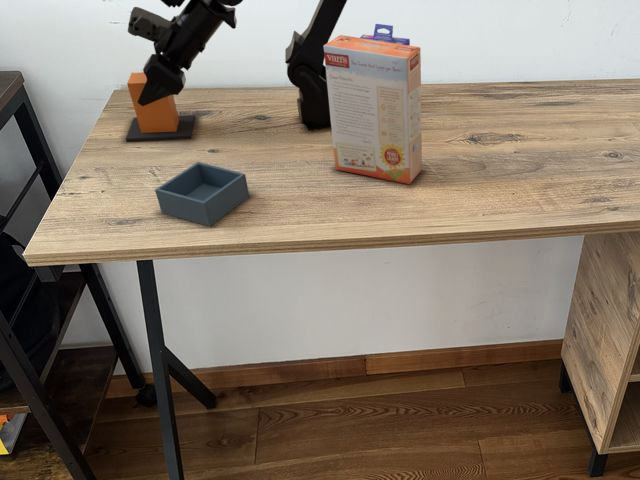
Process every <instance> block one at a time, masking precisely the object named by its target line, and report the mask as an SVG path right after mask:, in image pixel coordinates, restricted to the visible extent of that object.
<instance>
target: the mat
mask: <svg viewBox="0 0 640 480" xmlns="http://www.w3.org/2000/svg"><path fill="white" fill-rule="evenodd" d="M178 117H179V123H178V127H177V131H176V132H155V133H141V129H140V126H139V123H138V119H137V117H133V118H132V121H131V124H130V126H129V129H128V131H127V134H126V136H125V141H126V143H129V142H131V143H132V142H147V141H148V142H149V141H151V142H152V141H153V142H154V141H171V140H172V141H173V140H191V139H192V135H193V131H194V126H195V122H196V115H195V114H193V115H192V114H191V115H189V114H188V115H178Z"/></svg>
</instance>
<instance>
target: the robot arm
mask: <svg viewBox="0 0 640 480" xmlns="http://www.w3.org/2000/svg"><path fill="white" fill-rule="evenodd" d="M185 1H186V0H160V2H161V3H163V4H164V5H166V7H167V8H171V7H172V8H173V9H175V8H176V7H177V8H180V7H182V5H183V4H184V3H185ZM243 1H244V0H189V1H188V2H187V3H186V5H185V6H184V8H183V9H182V10H181V12H180V13H179V14H178V15H176V16H175V15H174V16H173V17H172V18H171V19H170V20H169V19H166V18H164V17H163V16H161V15H159V14H156V13H154V12H151V11H149V10H147V9H145V8H141V7H139V6H134V7H133V8H132V9H131V12H130V16H129V20H128V26H127V33H129V34H130V35H131V36H134V37H140V38H142V39H145V40H146V41H150V42H153V48H154V53H152V54H150V56H149V57H148V59H147V60H146V62H145V64H144V66H143V68H142V71H143V72H144V74H145V75H146V78H147V81H146V83H145V85H144V88H143V90H142V92H141V94H140V97H139V99H138V101H137V102H138V104H140V105H141V106H145V105H147V104H150V103H152V102H155V101H157V100H159V99H162V98H164V97H167V96H170V95H173V96H178V95H179V94H180V93H181V92H182V90H183V89H184V88H185V85H186V82H187V78H186V74H185V71H183V70H182V69H185V70H186V71H189V70H190V68H191V67H192V64H193V62H194V60H195V59H196V58H197V57H198V55H199V54H202V53H203V52H204V51H205V49H206V45H207V44H208V43H209V41H210V40H211V39H212V37H213V36H214V35H215V33H216V32H217V31H218V29H220V27H221V26H222V24H223V23H225V24H226V25H228V26H229V28H231V29H232V30H235V29H236V28H237V23H238V20H237V16H236V11H237V10H236V8H235V7H236V6H238V5H240V4H242V2H243ZM347 2H348V0H319V1H318V4H317V6H316V8H315V11H314V13H313V15H312V17H311V20H310V22H309V24H308V26H307V27H306V29H304V31H303V32H302V33H301V34H300V33H298V31H296V30H294V31H293V32H292V33H293V34H292V37H291V41H290V43H289V45H288V46H287V47H286V48H285V52H284V53H285V55H284V57H285V58H284V59H285V60H284V61H285V64H286V75H287V78H288V81H289V82H290V83H291V84H292V85H293V86H295V87H296V88H298V97H297V98H296V105H297V113H298V119H299V121H300V123H301V124H302V125H303V126H304V127H305V129H306V130H307V131H308V132H314V131H318V130H325V129H332V128H331V118H330V107H329V97H328V87H327V76H326V66H325V64H324V63H325V55H324V45H325V44H327V43H328V42H330V39H331V37H332V34H333V32H334V30H335V28H336V25H337V23H338V21H339V19H340V17H341V15H342V13H343V10H344V8H345V6H346V4H347Z"/></svg>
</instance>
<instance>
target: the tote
mask: <svg viewBox="0 0 640 480" xmlns="http://www.w3.org/2000/svg"><path fill="white" fill-rule="evenodd" d="M154 191H155V195H156V198H157V201H158V205H159V209H160V211H161V214H165V215H168V216H172V217H175V218H178V219H183V220H186V221H189V222H193V223H196V224H200V225H203V226H206V227H211V226H212V225H214V224H215V223H216V222H218V221H219V220H220V219H222V218H223V217H225V216H226V215H227V214H228V213H230V212H232V210H234V209H235V208H237V206H239V205H240V204H241V203H243V202H244V201H246V200H247V199H248V198H250V192H249V187H248V181H247V175H246V173H243V172H240V171H236V170H231V169H227V168H224V167H219V166H216V165H212V164H209V163H205V162H201V161H197V162H195V163H194V164H192V165H191V166H189V167H188V168H187V169H185V170H183V171H181V172H180V173H178V174H176V176H173V178H170V179H169V180H167V181H166V182H165V183H163V184H161V185H159V186H158V187H157V188H155V189H154Z"/></svg>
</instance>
